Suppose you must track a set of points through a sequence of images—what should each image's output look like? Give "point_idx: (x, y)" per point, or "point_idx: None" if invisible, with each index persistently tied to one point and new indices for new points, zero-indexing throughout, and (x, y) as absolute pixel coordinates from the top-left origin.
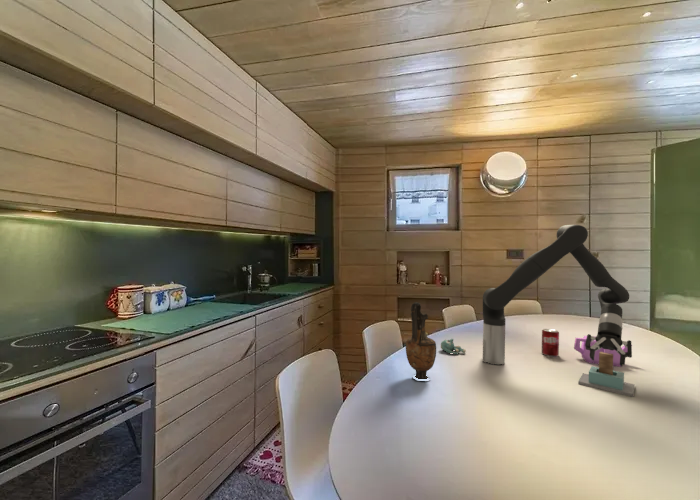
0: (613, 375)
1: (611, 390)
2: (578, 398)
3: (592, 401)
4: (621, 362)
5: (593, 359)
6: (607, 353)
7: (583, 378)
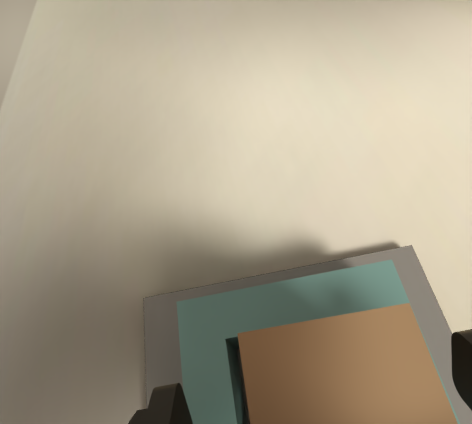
0: (241, 331)
1: (243, 280)
2: (305, 86)
3: (261, 101)
4: (160, 388)
5: (454, 358)
6: (331, 413)
7: (432, 337)
